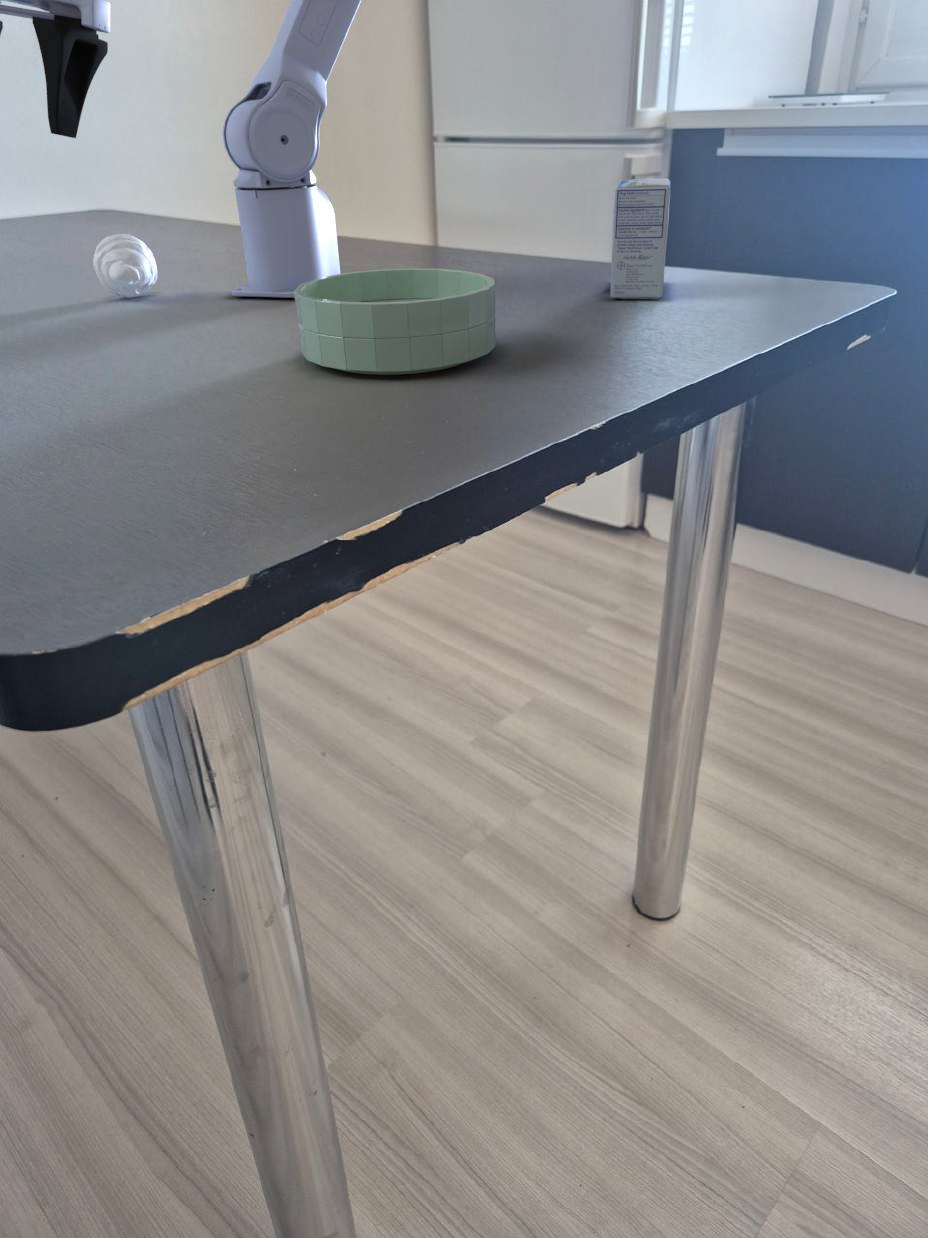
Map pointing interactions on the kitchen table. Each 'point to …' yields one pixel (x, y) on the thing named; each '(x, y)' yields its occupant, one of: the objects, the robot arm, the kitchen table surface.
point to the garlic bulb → (125, 265)
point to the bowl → (396, 320)
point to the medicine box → (639, 238)
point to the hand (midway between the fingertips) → (21, 127)
